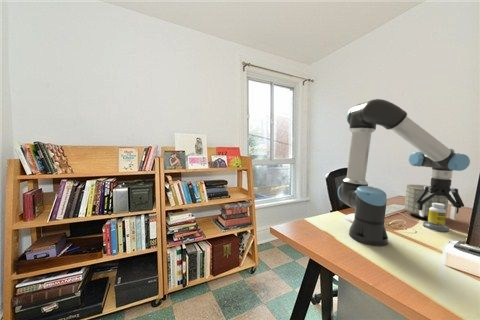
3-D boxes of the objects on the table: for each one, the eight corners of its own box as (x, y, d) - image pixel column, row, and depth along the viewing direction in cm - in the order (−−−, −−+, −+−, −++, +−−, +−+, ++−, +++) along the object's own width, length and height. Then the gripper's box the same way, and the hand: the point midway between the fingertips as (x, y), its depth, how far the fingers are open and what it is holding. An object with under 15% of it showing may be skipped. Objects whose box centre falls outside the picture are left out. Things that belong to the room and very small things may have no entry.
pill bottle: (433, 227, 102) (435, 205, 101) (424, 222, 109) (426, 201, 108) (448, 228, 101) (450, 206, 100) (438, 223, 107) (440, 202, 106)
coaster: (430, 230, 101) (430, 227, 101) (418, 223, 111) (418, 220, 111) (454, 233, 99) (455, 230, 99) (440, 225, 108) (440, 222, 108)
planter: (440, 215, 125) (443, 187, 123) (451, 225, 109) (455, 193, 107) (401, 209, 135) (404, 183, 133) (406, 217, 119) (409, 188, 117)
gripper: (417, 177, 102) (413, 217, 104) (478, 181, 96) (472, 223, 98) (408, 175, 109) (405, 212, 111) (465, 178, 103) (460, 217, 105)
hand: (436, 217), depth 104 cm, fingers open, 13 cm apart
